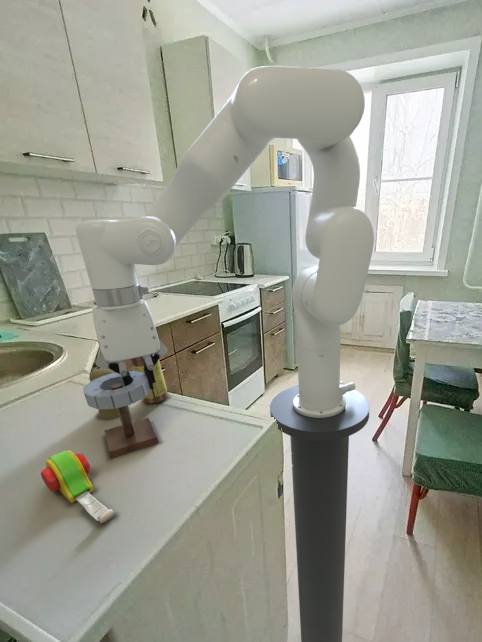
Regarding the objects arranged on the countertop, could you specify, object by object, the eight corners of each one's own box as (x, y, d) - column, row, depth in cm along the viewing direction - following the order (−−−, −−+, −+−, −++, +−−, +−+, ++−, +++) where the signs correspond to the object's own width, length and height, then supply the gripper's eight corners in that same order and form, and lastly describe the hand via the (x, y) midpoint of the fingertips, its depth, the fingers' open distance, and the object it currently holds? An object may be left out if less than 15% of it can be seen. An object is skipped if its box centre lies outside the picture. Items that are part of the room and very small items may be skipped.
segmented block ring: (144, 377, 76) (141, 366, 74) (155, 398, 67) (152, 385, 66) (86, 391, 71) (82, 380, 69) (89, 415, 62) (85, 402, 61)
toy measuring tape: (76, 463, 67) (65, 434, 64) (128, 509, 55) (118, 477, 52) (39, 482, 62) (25, 451, 60) (87, 536, 51) (73, 502, 48)
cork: (107, 421, 80) (93, 377, 75) (94, 414, 84) (80, 371, 79) (131, 410, 85) (120, 368, 80) (118, 403, 88) (106, 362, 83)
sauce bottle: (168, 391, 93) (151, 317, 84) (169, 401, 87) (151, 324, 79) (142, 396, 91) (122, 321, 82) (141, 407, 86) (120, 328, 77)
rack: (150, 423, 79) (136, 372, 73) (158, 442, 72) (144, 387, 66) (106, 436, 75) (88, 383, 69) (110, 458, 68) (92, 401, 62)
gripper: (160, 287, 69) (177, 373, 77) (65, 299, 62) (95, 392, 70) (169, 293, 63) (187, 385, 71) (66, 307, 56) (98, 408, 64)
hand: (141, 388), depth 70 cm, fingers closed on segmented block ring, 2 cm apart
